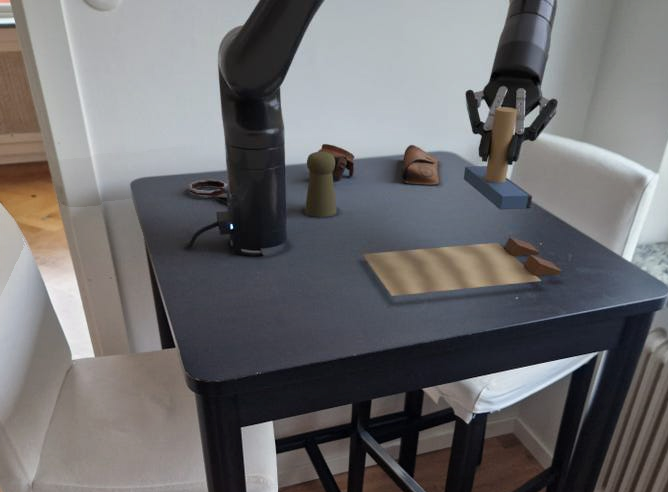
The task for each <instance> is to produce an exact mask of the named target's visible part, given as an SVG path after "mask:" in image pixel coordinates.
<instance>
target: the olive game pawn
mask: <svg viewBox="0 0 668 492" xmlns="http://www.w3.org/2000/svg"><path fill="white" fill-rule="evenodd" d="M306 167H307V169H308V172H309V171H310V176H309V175H308V185H307V193H306V201H305V207H304V213H305V214H306V215H307V216H310V217H315V218H328V217H332V216H335V215H336V214H337V202H336V195H335V185H334V181H333V176H332V171H333V170H334V167H335V158H334V157H333V155H332V154H330V153H327V152H318V151H316V152H315V151H314V152H311V153H310V154H309V155H308V157H307V159H306Z"/></svg>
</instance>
